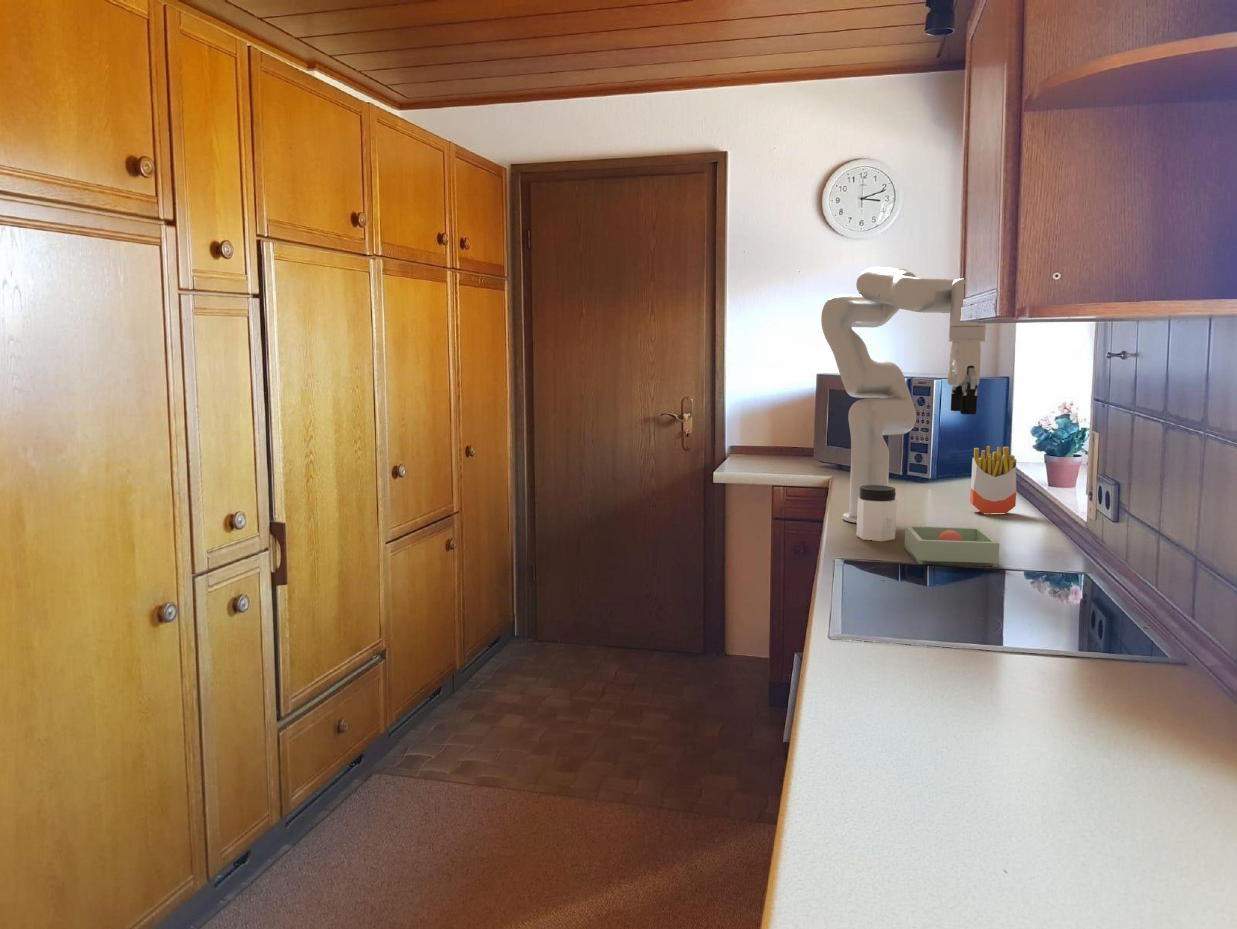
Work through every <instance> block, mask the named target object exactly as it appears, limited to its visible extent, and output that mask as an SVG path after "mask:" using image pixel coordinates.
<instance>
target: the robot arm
mask: <svg viewBox="0 0 1237 929" xmlns="http://www.w3.org/2000/svg"><path fill="white" fill-rule="evenodd" d="M964 278H965V277H964ZM964 278H963V277H962V278H957V279H948V278H947V279H946V278H921V277H917V276H916V275H915V274H914V273H913V272H911V271H910V270H907V269H906V268H901V267H882V266H881V267H880V266H876V267H875V266H873V267H870V268H867V269H864V271H862V272H861V273H860V274H859V275H858V277H857V278H856V291H857V292H858V294H837V295H835V296H832V297H830V298H829V299H827V300H826V302H825V303H824V305H823V307H822V310H821V318H820V320H821V323H820V324H821V329H822V332H823V336H824V338H825V341H826V342H827V343H828V345H829V348H830V349H831V352H832V354H833V357H834V360H835V363H836V365H837V370H838V372H839V375H840V378H841V382H842V384H843V387H844V389H845V392H846V393H847V394H848V396H850V397H852V398H861V399H858V400H857V401H855V402H854V403H852V405H851V406H850V408H849V410H848V413H847V414H848V415H847V416H848V417H847V419H848V425H849V426H848V427H849V433H850V474H849V476H850V477H849V478H850V480H849V481H850V482H849V505H848V506H849V507H848V512H844V513H843V514H842V520H844V521H846V522H850V523H854V524H855V523H856V524H857V506H858V497H859V495H860V487H861V486H865V485H881V486H889V474H890V473H889V472H890V470H889V469H890V451H889V450H890V449H889V447H888V445H887V442H886V441H885V438H884V436H889V435H893V436H895V435H903V434H907V433H909V432H910V431H912V430H913V428H914V427H915V425H916V422H917V412H916V408H915V407H916V406H915V404H914V401H913V398H912V395H911V393H910V389H909V386H908V384H907V382H906V381H907V380H906V377H905V375H904V373H903V371H902V369H901V368H900V366H898V365H897V364H896V363H894V362H892V361H888V360H887V361H885V360H874V359H872V358H871V356H870V354H869V351H868V347H867V345H866V344H865V342H864V340H863V338H861V336H860V335H859V334H858V333H857V332H855V331H854V330H853V328H878V327H879V328H880V327H882V326H883V325H885V324H886V323H887V322H889V321H890V320H891V319H892V318H893V316H895V315H896V314H897V313H898V312H899V311H900V310H905V311H911V312H916V313H936V314H937V313H939V314H940V313H942V314H949V331H948V332H949V333H948V343H949V342H951V347H950V353H949V365H948V375H947V384H948V385H949V386H950V387H951V386H952V387H951V393H950V411H951V412H960V414H961V415H976V414H977V409H978V406H977V405H978V404H977V402H978V386H979V383H980V376H981V359H982V357H981V353H982V350H981V348H982V347H981V346H982V345H981V343H982V342H983V343H985V342H986V330H987V329H986V328H987V327H986V326H987V322H986V323H977V322H961V321H960V316H961V302H962V304H963V298H964V284H965V280H964Z"/></svg>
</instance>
